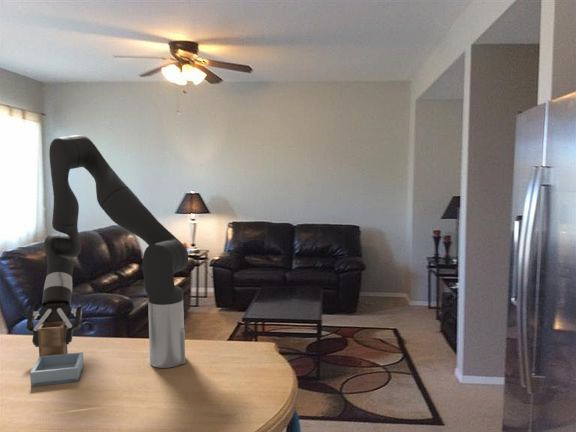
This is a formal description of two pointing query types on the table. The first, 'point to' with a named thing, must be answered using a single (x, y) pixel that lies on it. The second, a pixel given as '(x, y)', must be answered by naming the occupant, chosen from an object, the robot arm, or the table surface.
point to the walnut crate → (52, 338)
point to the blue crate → (57, 369)
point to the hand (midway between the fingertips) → (52, 344)
